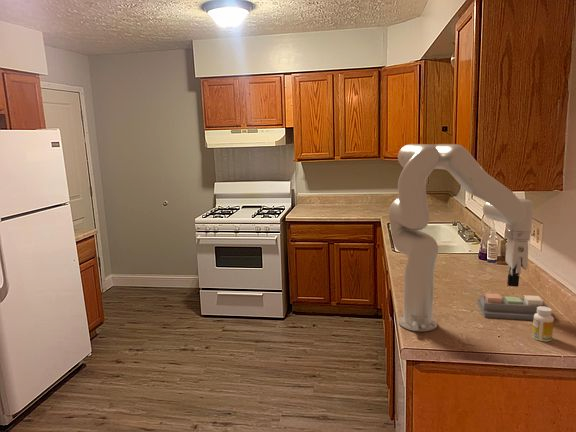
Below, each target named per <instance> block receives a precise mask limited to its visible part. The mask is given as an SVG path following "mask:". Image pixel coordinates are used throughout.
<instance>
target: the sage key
mask: <svg viewBox="0 0 576 432" xmlns="http://www.w3.org/2000/svg"><path fill="white" fill-rule="evenodd" d="M504 297H505V298H504V300H505V302H506V303H507V304H522V301H521V300H520V298H521V297H519V296H508V295H507V296H504Z"/></svg>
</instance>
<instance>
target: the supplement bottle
mask: <svg viewBox="0 0 576 432" xmlns="http://www.w3.org/2000/svg"><path fill="white" fill-rule="evenodd" d="M552 312H553V308H550V307H549V306H548V307H544V306H539V307H537V313H536V314H534V319H533V320H532V331H531V332H532V335H531V336H532V338H533V339H534V340H537V341H539V342H546V343H547V342H551V341H552V340H553V334H554V320H555V318H554V317H553V315H552Z"/></svg>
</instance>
